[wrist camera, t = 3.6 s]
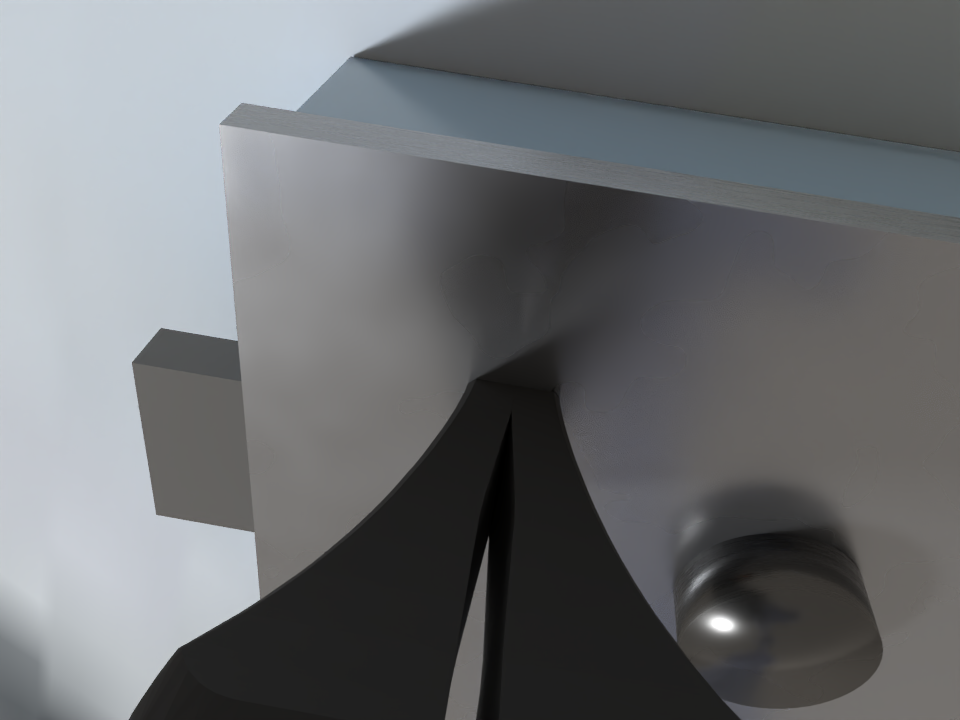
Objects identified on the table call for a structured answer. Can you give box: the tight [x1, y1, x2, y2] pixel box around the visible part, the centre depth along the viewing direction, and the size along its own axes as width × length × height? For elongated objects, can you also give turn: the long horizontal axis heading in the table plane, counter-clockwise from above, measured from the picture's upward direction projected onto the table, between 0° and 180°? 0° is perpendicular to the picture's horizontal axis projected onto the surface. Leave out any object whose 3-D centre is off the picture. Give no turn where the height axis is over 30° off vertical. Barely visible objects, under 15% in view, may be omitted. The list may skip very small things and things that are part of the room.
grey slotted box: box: [132, 57, 960, 532], centre depth 17 cm, size 14×24×4 cm, turn 83°
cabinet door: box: [219, 103, 960, 720], centre depth 14 cm, size 15×19×2 cm
